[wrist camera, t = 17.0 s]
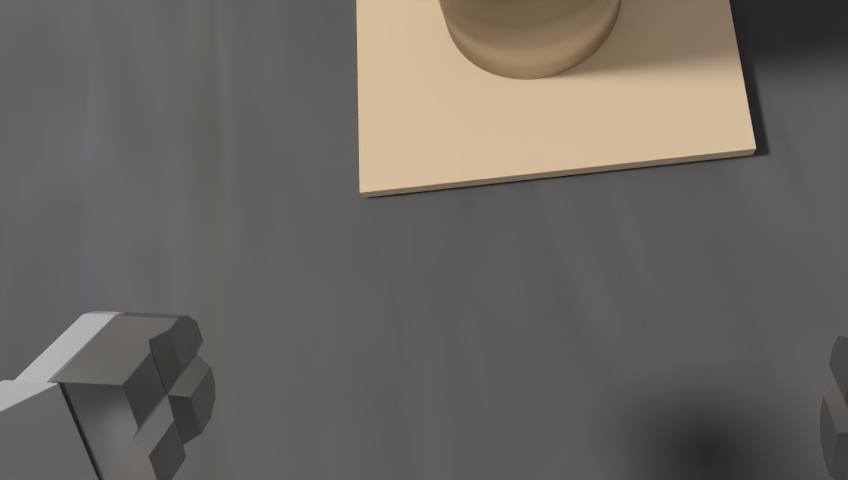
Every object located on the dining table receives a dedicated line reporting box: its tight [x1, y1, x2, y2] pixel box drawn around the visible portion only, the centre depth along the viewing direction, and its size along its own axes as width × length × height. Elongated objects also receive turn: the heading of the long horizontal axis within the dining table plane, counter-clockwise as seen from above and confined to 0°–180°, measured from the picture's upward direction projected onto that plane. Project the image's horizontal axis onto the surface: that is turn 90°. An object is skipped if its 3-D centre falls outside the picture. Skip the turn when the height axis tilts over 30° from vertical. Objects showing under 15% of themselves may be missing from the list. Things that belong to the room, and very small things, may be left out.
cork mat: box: [357, 0, 756, 198], centre depth 21 cm, size 10×10×1 cm
